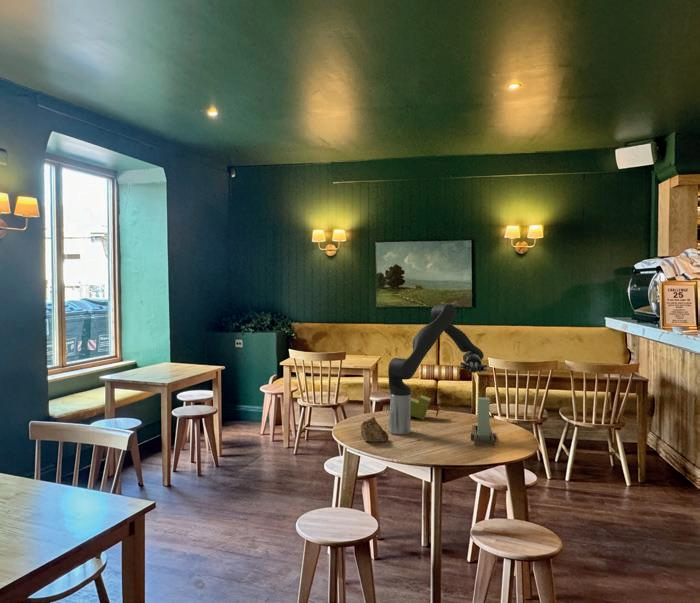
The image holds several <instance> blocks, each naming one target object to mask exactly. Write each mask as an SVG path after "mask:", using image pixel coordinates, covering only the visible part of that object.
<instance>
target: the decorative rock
mask: <svg viewBox="0 0 700 603" xmlns="http://www.w3.org/2000/svg"><path fill="white" fill-rule="evenodd" d="M360 429H361V430H360V435H361V437H362V439H363V440H364V441H367V442H371V443H373V442H374V443H375V442H379V441H380V443H381V442H384V441H387V442H388V441H389V437H390V436H389V435H388V433H387V432H386V431H385V430H384V429H383V427H382V426H381V425H380V424H379V423H378V422H377V420H376V418H375V416H372V417H371V418H370V419H367V420H365V421H363V422H362V423H361V424H360ZM384 443H385V442H384Z"/></svg>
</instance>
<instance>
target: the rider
mask: <svg viewBox="0 0 700 603" xmlns="http://www.w3.org/2000/svg"><path fill="white" fill-rule="evenodd" d="M490 402H491V401H490V398H489V397H483V396H482V397H481V396H478V397H477V426H478V431H477V438H478V439H481V440H490V435H489V426H490V408H491V407H490V406H491V405H490Z"/></svg>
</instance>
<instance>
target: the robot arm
mask: <svg viewBox="0 0 700 603" xmlns="http://www.w3.org/2000/svg"><path fill="white" fill-rule="evenodd" d="M456 315H457V310H456V307H455V305H452V304H450V303H446V304H445V303H444V304H439V305H435V306H433V307H432V308H431V311H430V316H431V319H432V320H433V321H431V322H429V323H428V324H426V325H425V326H423V327H422V328H420V330H419V331H418V332H417V333H416V335H415V336H414V338H413V339H412V352H411V353H410V355H409V356H408V357H407V358H402V357H401V358H400V357H394V358H391V360H390V361H389V364H388V366H387V370H388V371H387V372H388V373H387V374H388V388H389V393H390V394H389V396H390V398H389V399H390V403H389V407H390V408H389V409H388V410H389V411H388V412H389V414H388V416H389V418H388V420H389V422H388V426H389V427H388V428H389V429H388V430H389V432H391V433H390V434H393V435H408V434H411V422H412V420H411V419H412V417H411V398H412V397H411V396H412V389H411V387H409V386H408V385H407V384H405V382H404V381H405V380H406V381H407V380H408V381H409V380H410V379H412V378H413V377H414V376H415V374H416V372H417V370H418V369H419V366H420V365H421V363H422V361H423V360H424V358H425V357H426V355H427V354H428V352H429V351H430V350H431V348H432V347H433V346H434V345H435V343H436V342H437V340H438V339H439V338H440V337H441V335H442V334H443V333H445V334H447V336H448V337H450V339H451V340H452V341H453V342H454V343H455V345H456V347H457V348H458V350H459V351H461V352H462V353H464V354H463V355H462V360H463V362H460V365H459V366H460V367H459V368H460V369H462V370H466V371H469V372H471V373H474V374H475V373H477V372H478V373H480V372H487V370H488V365H487V364H483V363H482V360H483V359H484V352H483V350H481V349H480V348H479V347H477V346H476V345H475V344H474V343H473V342H472V341H471V340H470V338H469V337H468V335H467V334H466V333H465V332H464V331H462V330H461V329H459V328H458V327H456V326H455V325H454V324H452V323H453V321H455V318H456ZM403 380H404V381H403Z"/></svg>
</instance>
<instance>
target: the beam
mask: <svg viewBox="0 0 700 603" xmlns="http://www.w3.org/2000/svg"><path fill="white" fill-rule="evenodd" d="M477 431H478V425H471V432H470V441H473V444H474V446H475V447H486V448H487V447H490V448H495V447H496V443H497V435H496V434H497V433H496V434H495V433H493V430H492V428H491V426H490V425H489V435H490V440H481V439H478V438H477Z"/></svg>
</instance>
